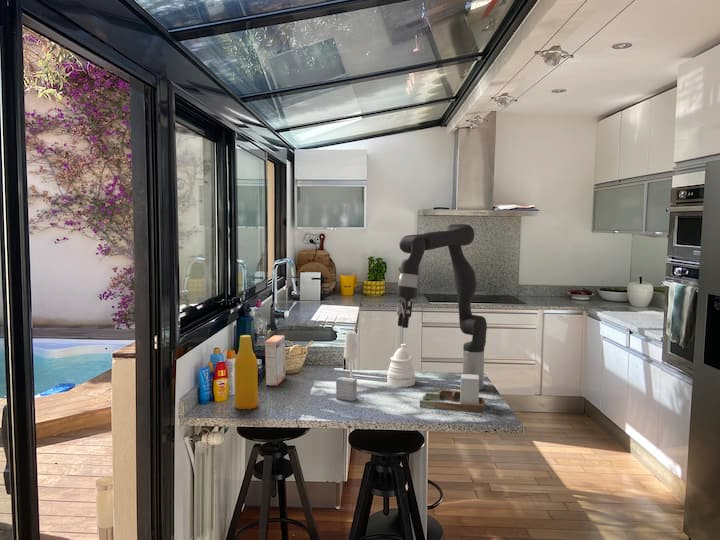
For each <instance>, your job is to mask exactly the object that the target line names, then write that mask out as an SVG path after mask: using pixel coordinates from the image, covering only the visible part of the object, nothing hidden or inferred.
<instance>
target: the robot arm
mask: <svg viewBox="0 0 720 540" xmlns="http://www.w3.org/2000/svg"><path fill="white" fill-rule="evenodd" d="M474 239H475V230H474V228H473V226H471V225H469V224H465V223H460V224H458V223H457V224H456V223H455V224H454V223H453V224H450V225H448V226H447V228H446V230H439V231H438V230H437V231H430V232H424V233H421V234H419V233H418V234H408V235H404V236H403V237H401V239H400V241H399V249H400V250H401V251H402V252H403V253H404V254H409V256H408V257H407V258H404V259H402V261H401V264H400V272H399V277H398V281H397V282H398V283H397V291H396V297H398V298H400V299H399V300H398V308H397V309H398V310H397V316H398V320H397V326H398V327H402V328H404V329H408V328H409V324H410V323H409V321H410V318H411V317H412V312H413V310H412V309H413V301H411V299H412V300H415V299H416V298H417V291H418V283H419V279H418V277H419V270H420V268H419V267H420V265H421V263H422V262H421V261H422V259H423V257H424V254H425V251H431V250H435V249H439V248H444V247H447V248H448V250H449V255H450V259H451V264H452V271H453V276H454V277H453V279H454V284H455V290H456V297H457V304H458V321H459V327H460V331H461V332H462V334H465V335H468V336H472V337H471V341H467V342H465V343H464V344H463V346H462V347H463V348H462V349H463V351H462V352H463V354H462V355H463V358H462V359H463V360H462V374H471V375H479V391H481V390H483V389H484V384H485V383H484V382H485V381H484V379H485V377H484V375H485V372H484V371H485V347H486V342H487V331H488V329H487V328H488V325H487V319H486V317H484V316H483V315H477V314H473V313H472V307H471V305H472V300H473V298H474V295H475V294H476V290H477V288H478V286H477V285H478V284H477V278H476V272H475V270H474V269H473V267H472V265H471V264H470V263H469V261H468V259H467V258H466V257H465V255H464V253H463V249H462V246H468V245H471V244H472V243H473V241H474Z"/></svg>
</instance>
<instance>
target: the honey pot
mask: <svg viewBox="0 0 720 540" xmlns="http://www.w3.org/2000/svg"><path fill="white" fill-rule="evenodd" d="M406 346H407V344H406V343H401V344H400V347H399V348H397V350H396V351H395V352H394V354H393V356H391V357H390V361H391V362H390V363H389V367H388V370H387V371H386V373H387V375H386V376H387V377H386V383H387V385H389V386H391V385H392V386H391V387H395V386H397V387H396V388H408V386H409V387H413V386H414V385H415V384H416V379H415V378H416V372H415V370H414V366H413V364H412V363H413V362H412V357H411V356H409V354H408V352H407V351H406V349H405V348H406ZM412 385H413V386H412Z"/></svg>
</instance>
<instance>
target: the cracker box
mask: <svg viewBox="0 0 720 540" xmlns="http://www.w3.org/2000/svg"><path fill="white" fill-rule="evenodd" d="M285 339H286V337H285V335H277V334H276V335H273V336H271V337H270V338H268V339H266V340H265V341H264V349H265V353H264V354H265V355H264V356H265V357H264V358H265V385H266V386H267V385H269V386H274V387H277V386H279V385H280V384H281V383H282V382H283V381H284V380H285V379H286V344H285V343H286V342H285Z"/></svg>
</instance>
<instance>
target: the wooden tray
mask: <svg viewBox="0 0 720 540" xmlns="http://www.w3.org/2000/svg"><path fill="white" fill-rule="evenodd" d="M432 399H433V400H434V401H433V400H432ZM485 400H486V399H485V397H480V396H479V406H478V405H468V404H460V403H455V402H460V391H458V390H457V391H456V390H445V389H439V390H438V393H437V392H436V393H435V392H433V393H432V392H424V393H423V395H422V397H421V398H420V399H419V408H427V407H429V408H430V409H438V408H441V409H440V410H447V411H449V410H451V411H458V412H459V411H460V412H461V411H462V412H470V411H471V412H472V413H480V412H482V414H483V412H484V409H485V405H486V404H485V403H486V401H485ZM442 401H443V402H442ZM445 401H450V402H445ZM429 408H428V409H429ZM471 412H470V413H471Z"/></svg>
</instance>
